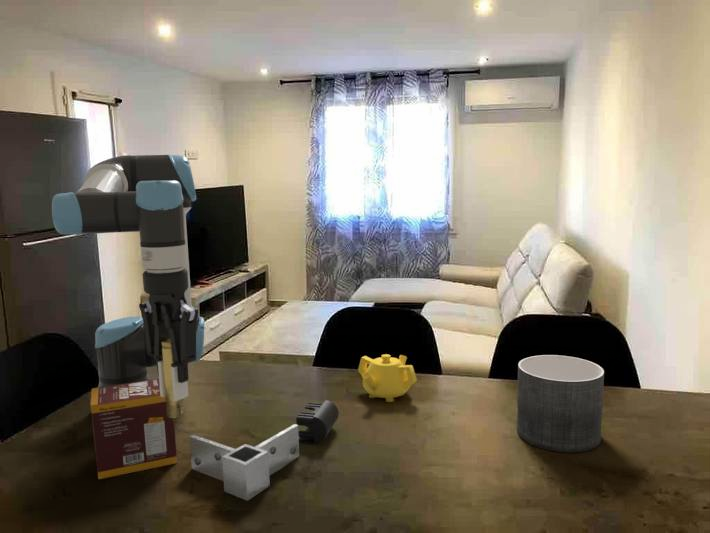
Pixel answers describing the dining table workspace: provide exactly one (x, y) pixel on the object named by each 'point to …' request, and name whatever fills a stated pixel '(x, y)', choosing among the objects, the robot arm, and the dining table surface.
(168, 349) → the hinge pin
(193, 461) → the hinge leaves
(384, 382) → the teapot
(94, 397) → the supplement box
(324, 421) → the end cap
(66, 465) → the dining table surface
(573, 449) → the planter
